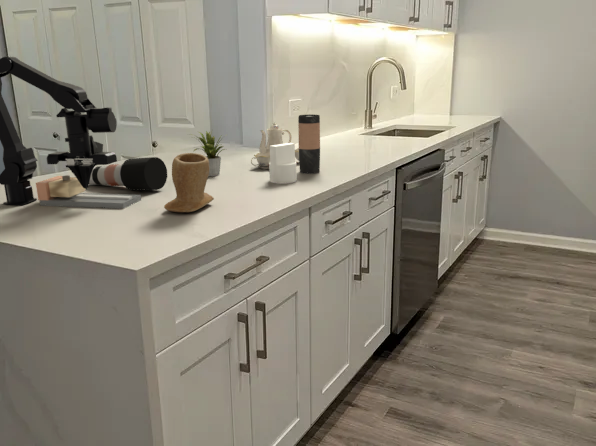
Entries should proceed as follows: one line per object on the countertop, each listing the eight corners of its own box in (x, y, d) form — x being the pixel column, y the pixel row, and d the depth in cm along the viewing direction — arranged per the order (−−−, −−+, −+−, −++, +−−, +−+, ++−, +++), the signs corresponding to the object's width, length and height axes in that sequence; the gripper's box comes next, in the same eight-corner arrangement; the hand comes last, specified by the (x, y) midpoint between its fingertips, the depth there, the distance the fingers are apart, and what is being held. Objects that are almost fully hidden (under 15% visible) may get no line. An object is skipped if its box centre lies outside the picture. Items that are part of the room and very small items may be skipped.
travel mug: (324, 171, 195) (324, 115, 189) (310, 174, 189) (309, 116, 184) (308, 169, 200) (308, 114, 194) (294, 172, 194) (293, 115, 189)
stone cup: (198, 217, 139) (194, 159, 134) (158, 214, 142) (153, 157, 138) (225, 203, 152) (222, 150, 148) (188, 200, 156) (184, 148, 152)
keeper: (50, 196, 153) (47, 178, 152) (67, 190, 161) (65, 173, 159) (69, 197, 152) (66, 179, 151) (85, 190, 160) (83, 173, 158)
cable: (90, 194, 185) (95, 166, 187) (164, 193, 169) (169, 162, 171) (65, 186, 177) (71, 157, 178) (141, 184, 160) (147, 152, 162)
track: (39, 205, 154) (35, 182, 152) (60, 197, 163) (57, 175, 161) (123, 208, 148) (121, 185, 147) (141, 199, 158) (138, 177, 156)
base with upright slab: (283, 176, 187) (283, 142, 183) (302, 180, 181) (301, 144, 177) (264, 180, 181) (262, 145, 177) (282, 184, 175) (281, 147, 171)
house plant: (180, 175, 193) (177, 128, 188) (211, 169, 203) (208, 125, 198) (205, 180, 184) (202, 131, 179) (236, 173, 193) (234, 127, 189)
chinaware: (264, 176, 197) (265, 130, 191) (237, 166, 209) (238, 122, 203) (319, 166, 215) (322, 124, 209) (292, 157, 226) (294, 117, 220)
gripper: (123, 129, 156) (129, 182, 160) (65, 129, 160) (73, 181, 164) (102, 134, 146) (109, 191, 150) (41, 134, 149) (50, 189, 154)
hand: (85, 188), depth 155 cm, fingers closed
